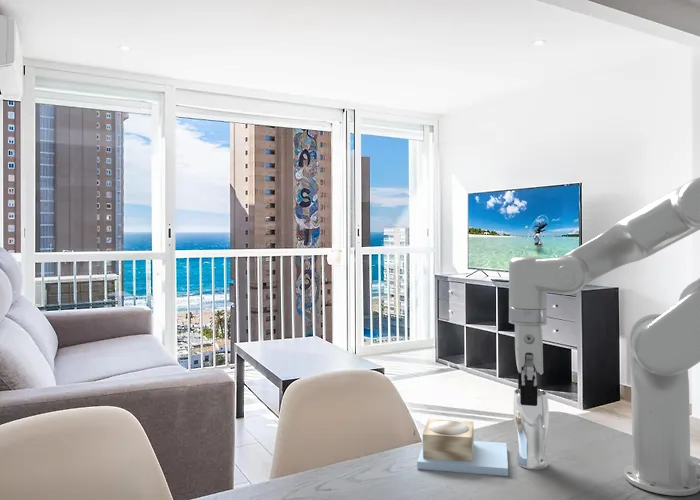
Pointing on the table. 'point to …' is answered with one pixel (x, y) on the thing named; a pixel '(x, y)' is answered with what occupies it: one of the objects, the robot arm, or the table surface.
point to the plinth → (448, 440)
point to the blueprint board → (473, 460)
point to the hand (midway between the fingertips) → (527, 398)
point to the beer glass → (532, 431)
